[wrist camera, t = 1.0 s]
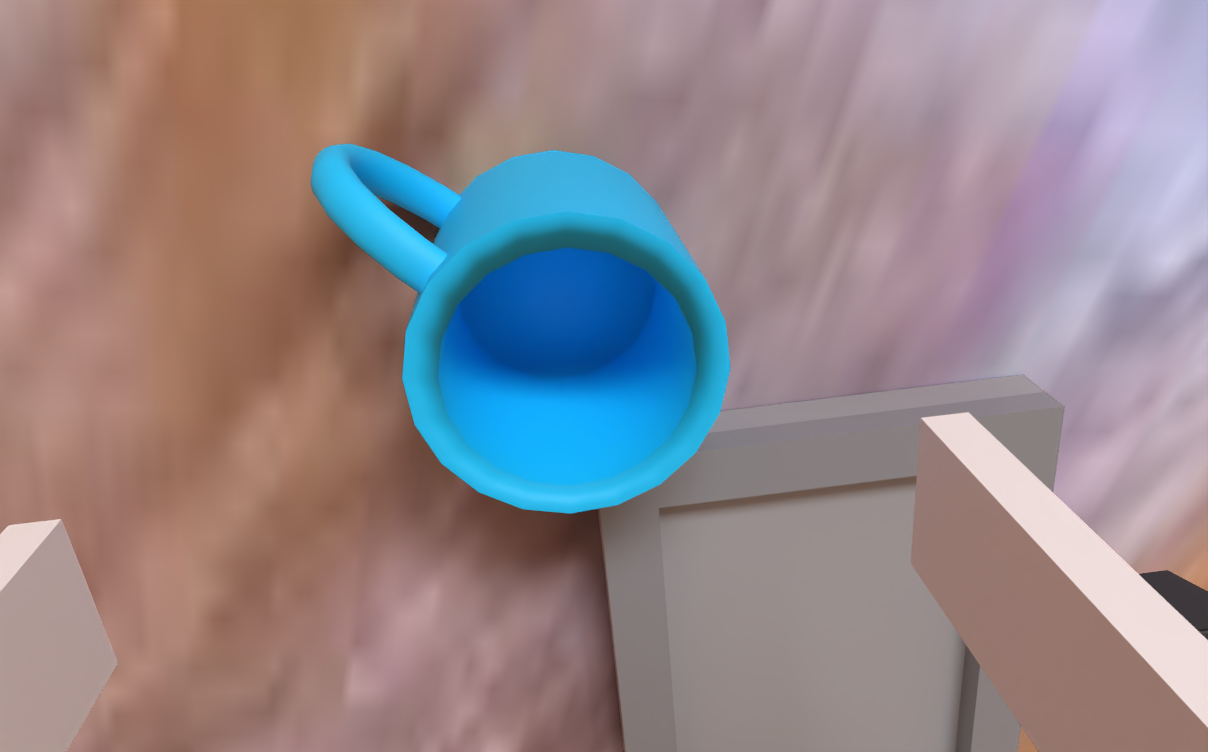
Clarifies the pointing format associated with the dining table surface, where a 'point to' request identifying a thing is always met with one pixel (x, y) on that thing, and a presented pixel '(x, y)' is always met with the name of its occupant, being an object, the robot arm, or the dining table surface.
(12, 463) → the dining table surface
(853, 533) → the tray
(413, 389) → the mug
